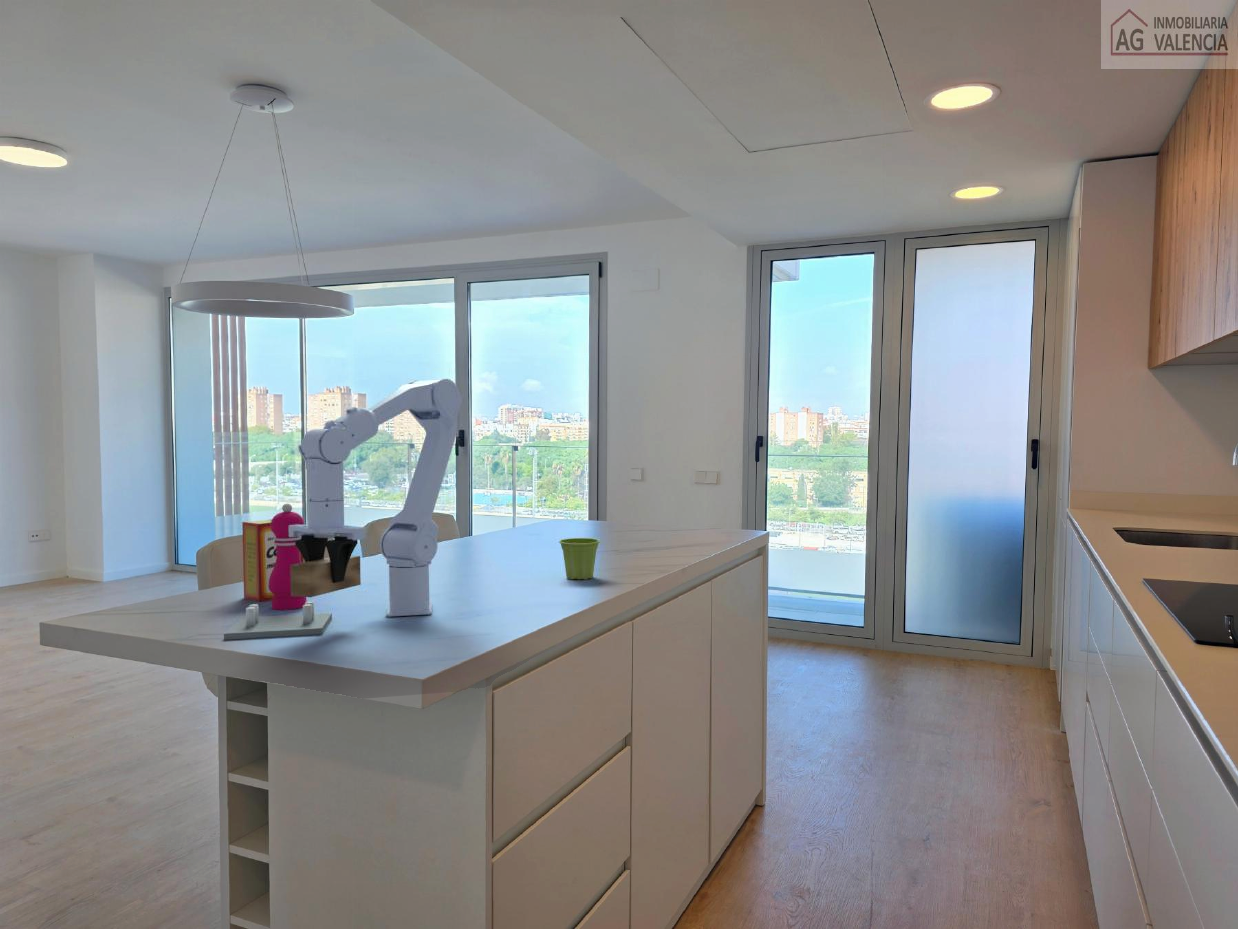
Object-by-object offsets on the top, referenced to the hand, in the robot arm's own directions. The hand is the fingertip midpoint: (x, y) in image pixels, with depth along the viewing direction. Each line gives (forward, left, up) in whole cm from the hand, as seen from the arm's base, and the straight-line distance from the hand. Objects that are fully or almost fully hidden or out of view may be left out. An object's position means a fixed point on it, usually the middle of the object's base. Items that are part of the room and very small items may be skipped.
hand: (327, 581), depth 134 cm
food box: (-35, -15, -9) cm, 39 cm away
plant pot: (-40, +50, -9) cm, 64 cm away
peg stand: (-4, -8, -8) cm, 12 cm away
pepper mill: (-23, -10, -9) cm, 26 cm away
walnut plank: (0, 0, -2) cm, 2 cm away
